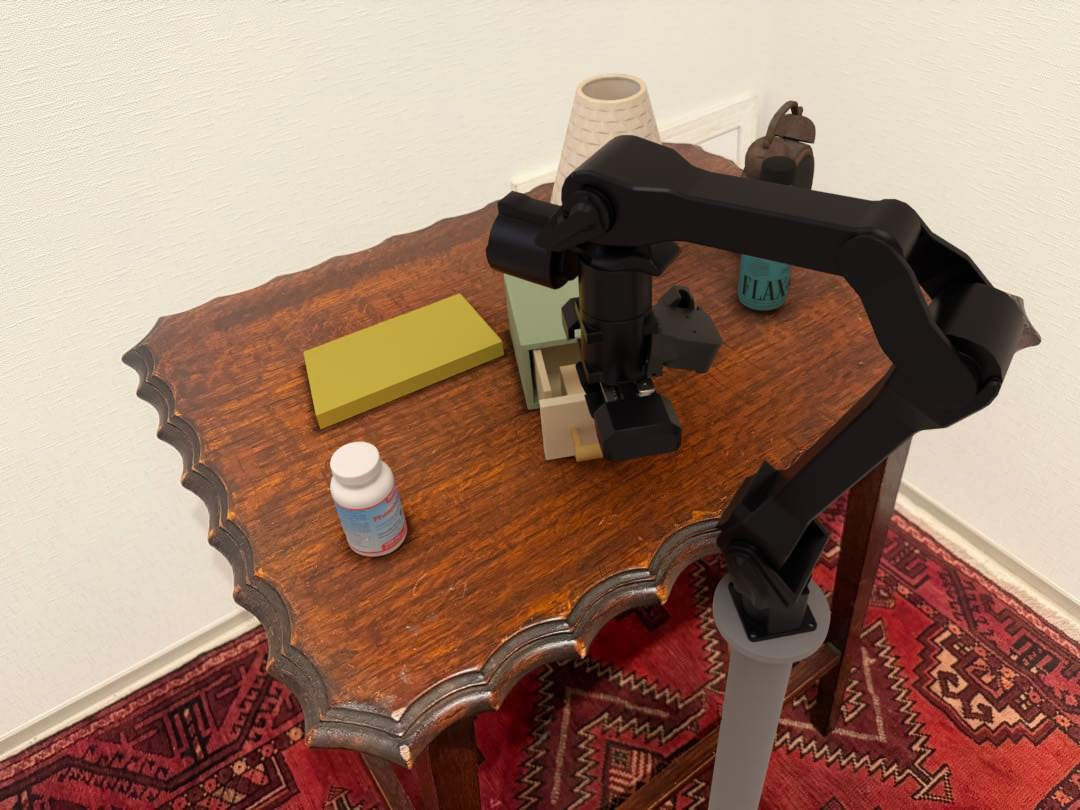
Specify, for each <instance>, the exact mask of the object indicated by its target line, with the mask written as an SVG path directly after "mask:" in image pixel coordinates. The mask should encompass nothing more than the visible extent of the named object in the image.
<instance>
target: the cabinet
mask: <svg viewBox="0 0 1080 810" xmlns="http://www.w3.org/2000/svg"><path fill="white" fill-rule="evenodd" d="M502 274H503V282H504V283H503V284H504V291H505V301H506V309H507V315H508V316H507V317H508V326H509V334H510V338H511V343H512V346H513V351H514V355H515V360H516V365H517V368H518V373H519V377H520V382H521V386H522V390H523V395H524V399H525V403H526V407H527V410H528V411H531V410H537V409H540V405H539V401H538V397H537V393H536V389H535V385H534V381H533V377H532V367H531V357H530V350H532V349H538V348H545V347H551V346H557V345H563V344H570V343H576V342H577V339H578V338H581V329H577V330H575V339H574V340H569V341H567V338H566V335H565V331H564V328H563V325H562V313H561V308H562V307H563V305H564V304H565V303H566V302H567V301H568V300H569V299H570V298H575V297H579V285H578V276H577V278H575V279H574V280H572V281H568V282H567V283H566V284H565V285H564V286H563V287H561V288H559V289H555V290H554V289H551V288H548V287H545V286H541V285H538V284H535V283H532V282H529V281H526V280H523V279H519V278H516V277H513V276H510V275H507V274H504V273H502Z"/></svg>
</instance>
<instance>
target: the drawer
mask: <svg viewBox="0 0 1080 810" xmlns="http://www.w3.org/2000/svg"><path fill="white" fill-rule="evenodd" d="M530 357H531V367H532V377H533V381H534V385H535V389H536V393H537V397H538V401H539V405H540V408H539V413H540V422H541V430H542V431H541V433H542V443H543V444H542V445H543V454H544V457H545V460H546V461H551V460H556V459H563V458H567V457H568V458H569V457H575V461H576V463H580V462H586V461H591V460H597V459H602V458H603V454H602V451H601V448H600V445H599V442H598V438H597V434H596V429H595V423H594V419H593V418H592V417H591V415H590V413H589V410H588V406H587V403H586V400H585V397H584V395H585V394H586V393H579V394H573V395H567V396H562V394H561V380H560V367H562V366H568V365H574V364H576V363H577V362H579V361H581V358H580V355H579V352H578V349H577V342H576V343H570V344H563V345H557V346H551V347H545V348H538V349H532V350H530ZM603 459H604V458H603Z"/></svg>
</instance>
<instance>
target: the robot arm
mask: <svg viewBox="0 0 1080 810" xmlns="http://www.w3.org/2000/svg"><path fill="white" fill-rule="evenodd" d="M561 201H562V205H561V206H560V205H556V204H552V203H550V202H549V201H545V200H541V199H537V198H534V197H531V196H530V195H527V194H525V193H523V192H519V191H515V190H511V191H510V192H508V193H507V194H506V195H505V196H503V197H502V198H501V199H500V200H498V201H497V203H496V206H497V213H498V214H497V215H496V217H495V219H494V220H493V223H492V225H491V227H490V231H489V236H488V241H487V245H486V246H485V257H486V261H487V263H488V265H489V267H490V269H492V270H493V271H494V272H497V273H501V274H503V273H504V274H507V275H510V276H513V277H516V278H519V279H523V280H526V281H529V282H532V283H535V284H538V285H541V286H545V287H548V288H551V289H554V290H555V289H559V288H561V287H563V286H564V285H565V284H566V283H567V282H568V281H572V280H574V279H575V278H577V276H578V285H579V297H575V298H570V299H569V300H568V301H567V302H566V303H565V304H564V305H563V307H562V308H561V313H562V325H563V328H564V331H565V335H566V338H567V341H569V340H574V339H575V330H577V329H581V338H578V339H577V349H578V352H579V355H580V358H581V361H579V362H577V363H576V365H575V367H576V371H577V374H578V377H579V380H580V384H581V386H582V388H583V390H584V391H585V393H586V394H585V395H584V397H585V400H586V403H587V406H588V410H589V413H590V415H591V417H592V418H593V419H594V423H595V429H596V434H597V438H598V442H599V445H600V448H601V451H602V454H603V459H604V460H606V461H608V462H611V463H617V462H622V461H628V460H635V459H639V458H646V457H652V456H658V455H664V454H669V453H676V452H677V451H678V450H679V449H680V447H681V446H682V436H683V434H682V433H683V428H682V425H681V422H680V420H679V418H678V415H677V413H676V411H675V407H674V405H673V403H672V401H671V399H670V398H667V397H666V396H665V395H662V393H658V392H657V389H656V386H655V384H654V382H653V381H654V380H653V378H658V377H659V378H660V377H663V370H664V368H663V367H666V368H669V369H675V370H684V371H692V372H695V374H703V375H704V374H707V373H708V372H709V370H710V369H711V366H712V364H713V362H714V361H715V358H716V356H717V354H718V353H719V350H720V349H721V346H722V345H723V343H724V342H723V341H724V340H723V337H722V335H721V333H720V332H719V330H718V328H717V326H716V324H715V322H714V320H713V318H712V317H711V315H710V314H708V313H707V312H705V311H704V308H703V307H702V305H696V304H695V299H694V296H693V295H692V293H691V291H690V288H689V287H688V286H684V285H677V284H674V285H672V286H671V287H670V288H669V289H668V290H667V291H666V292H664V294H662V295H661V296H660V297H659V299H658V301H657V303H656V304H654V305H653V277H658V278H659V277H660V276H661V275H663V273H664V272H665V271H666V270H667V269H668V268H669V266H671V265H672V264H673V262H674V261H675V260H676V259H677V258H678V257H679V256H680V255H681V253H682V249H681V247H680V246H679V245H678V244H677V243H676V242H683V243H690V244H695V245H699V246H703V247H708V248H712V249H718V250H722V251H726V252H730V253H735V254H739V255H742V254H743V255H748V256H752V257H757V258H761V259H766V260H770V261H775V262H779V263H784V264H788V265H792V266H793V267H797V268H802V269H806V270H811V271H815V272H820V273H824V274H829V275H833V276H837V277H841V278H843V279H844V280H845V282H847V284H848V285H849V286H850V287H851V288H852V290H853V291H854V292H855V293H856V294H857V296H858V297H859V298H860V301H861V304H862V306H863V308H864V310H865V313H866V316H867V318H868V320H869V321H868V322H869V323H870V325H871V328H872V330H873V333H874V335H875V338H876V340H877V342H878V343H877V344H878V345H879V347H880V349H881V351H882V352H883V353H884V355H885V356H886V357H887V358H888V360H890V362H891V363H892V364H891V366H890V367H889V368H888V370H887V371H886V373H885V374H884V375H883V376H882V377H881V378H880V379H879V380H878V381H877V382H875V384H874V385H873V386H872V387H871V388H870V389H868V391H867V392H865V393H864V395H863V396H862V397H860V398H859V399H858V400H857V402H855V403H854V404H853V405H852V406H851V407H850V408H849V409H848V410H847V411H846V412H845V413H844V414H843V415H842V416H841V417H840V418H839V419H837V421H836V422H835V423H834V424H833V425H832V426H831V427H830V428H829V429H828V430H826V431H825V433H824V434H823V435H822V436H820V437H819V439H818V440H816V441H815V442H814V443H813V444H812V446H810V447H809V448H808V449H807V450H806V451H805V452H804V453H803V454H801V456H800V457H798V459H797V460H796V461H794V463H793V464H792V465H791V466H789V467H788V468H786V469H776V468H775V467H774V466H773V465H772V464H771V463H770V462H768V460H766V459H764V460H763V462H762V463H761V465H760V466H759V468H758V469H757V471H756V472H755V473H753V474H752V475H749V476H746V477H745V478H744V479H743V481H742V483H741V484H740V486H739V488H738V490H737V491H736V493H735V494H734V496H733V497H732V499H731V500H730V502H729V504H728V505H727V506H726V509H725V510H724V512H723V513H722V515H721V517H720V518H719V519H718V521H717V523H716V524H715V526H714V528H715V530H718V531H720V532H719V534H718V535H717V537H716V539H715V545H716V547H717V548H719V550H720V552H721V554H722V555H723V559H724V562H725V564H726V567H727V571H728V572H729V573H730V576H731V579H732V582H730V583H729V584H728V590H729V592H730V595H731V598H732V600H733V603H734V605H735V608H736V610H737V613H738V615H739V618H740V620H741V623H742V625H743V628H744V630H745V633H746V636H747V638H748V640H749V641H750V642H759V641H764V640H769V639H775V638H780V637H785V636H791V635H796V634H801V633H807V632H812V631H815V630H816V628H817V622H816V620H815V618H814V616H813V614H812V612H811V609H810V607H809V605H808V603H807V602H808V598H809V593H810V590H809V586H810V581H811V579H812V578H813V571H814V569H815V567H816V565H817V563H818V561H819V559H820V557H821V555H822V554H823V551H824V549H825V547H826V545H827V543H828V541H829V540H830V537H831V534H830V532H829V531H828V529H826V528H825V526H824V525H823V524H822V522H821V521H820V520H819V519H818V518H817V517H818V516H820V515H821V514H822V513H823V512H825V510H826V509H828V508H830V507H831V505H833V504H834V503H835V502H836V501H837V500H838V499H841V497H843V495H844V494H846V493H847V492H848V491H849V490H850V489H851V488H853V487H854V486H856V484H857V483H859V482H860V481H861V480H862V479H863V478H865V477H866V476H867V475H868V474H870V473H871V472H872V471H873V470H874V469H875V468H876V467H878V466H879V465H880V464H881V463H883V462H884V461H885V460H887V459H888V458H889V456H891V455H892V454H894V452H896V451H897V450H898V449H899V448H900V447H902V446H903V445H904V444H905V443H906V442H908V441H909V440H910V439H911V438H912V437H913V436H914V435H916V434H918V433H920V432H922V431H931V430H942V429H948V428H950V427H952V426H953V425H955V424H957V423H959V422H962V421H963V420H965V419H967V418H969V417H971V416H973V415H974V414H977V413H978V412H980V411H983V410H984V409H985V408H987V407H989V406H990V405H991V404H992V403H993V402H994V401H995V399H996V398H997V397H998V396H999V393H1000V391H1001V389H1002V386H1003V384H1004V381H1005V379H1006V376H1007V373H1008V372H1009V368H1010V366H1011V364H1012V360H1013V358H1014V355H1015V353H1016V351H1017V348H1018V345H1019V343H1020V340H1021V338H1022V335H1023V332H1024V330H1025V327H1026V326H1025V323H1024V315H1023V314H1024V313H1023V312H1022V310H1021V308H1020V306H1019V305H1018V303H1017V301H1015V300H1014V299H1013V298H1012V297H1011V296H1010V295H1008V294H1007V292H1005V291H1003V290H1001V289H999V288H997V287H995V286H994V285H993V284H992V282H991V281H990V280H989V279H988V278H987V276H986V275H985V274H984V272H983V271H982V270H981V269H980V268H979V266H978V264H976V263H975V261H974V260H973V258H971V256H970V255H969V254H968V253H966V252H965V251H963V250H962V249H960V248H959V247H957V246H955V245H954V244H952V243H951V242H949V241H947V240H946V239H944V238H943V237H942V236H940V235H938V234H936V233H935V232H933V231H932V229H930V227H929V226H928V225H927V224H926V222H925V221H924V220H923V218H922V217H921V216H920V214H918V212H917V211H916V210H915V209H914V208H913V207H912V206H911V205H910V204H908V203H907V202H905V201H903V200H900V199H898V198H897V199H896V198H883V199H880V200H870V199H865V198H860V197H853V196H848V195H844V194H838V193H831V192H827V191H826V192H825V191H821V190H815V189H811V190H810V189H804V188H799V187H793V186H787V185H782V184H776V183H771V182H765V181H760V180H754V179H748V178H743V177H741V176H738V175H737V176H736V175H731V174H726V173H720V172H719V173H718V172H714V171H709V170H707V169H703V168H701V167H698V166H695V165H693V164H691V163H690V161H688V160H687V158H685V157H684V156H682V155H681V154H680V153H679V152H678V151H677V150H675V149H674V148H671V147H668V146H666V145H663V144H662V145H661V144H658V143H655V142H652V141H649V140H646V139H644V138H641V137H638V136H634V135H620V136H617V137H614V138H613V139H612V140H610V141H609V142H607V143H606V144H605V145H604V146H603V147H601V148H600V149H599V150H598V151H597V152H595V153H594V154H593V155H592V156H591V157H590V158H588V159H587V160H586V161H585V162H584V163H582V164H581V165H580V166H579V167H578V168H576V169H575V170H574V171H573V172H572V173H571V174H570V175H569V176H568V177H567V178H566V179H565V181H564V183H563V186H562V190H561ZM922 290H923V291H924V292H925V293H926V295H927V296H928V297H929V298H930V299H931V302H930V303H929V304H928V302H927V300H926V298H925V295H924V293H923V291H922ZM695 305H696V306H695ZM731 586H734V587H735V588H732V587H731ZM809 624H812V625H813V627H812V626H810V625H809ZM751 635H754V636H755V638H753V637H751Z"/></svg>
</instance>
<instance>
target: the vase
mask: <svg viewBox="0 0 1080 810" xmlns="http://www.w3.org/2000/svg"><path fill="white" fill-rule="evenodd" d="M654 113H655V112H654V110H653V105H652V101H651V98H650V94H649V90H648V86H647V84H646V82H645V81H644V80H642V79H641V78H640V77H637V76H635V75H632V74H626V73H604V74H598V75H593V76H590V77H587V78H586V79H584V80H582V81H580V82H579V83H578V85H577V86H576V90H575V93H574V97H573V102H572V106H571V110H570V114H569V118H568V123H567V128H566V132H565V136H564V140H563V145H562V149H561V152H560V153H561V154H560V159H559V161H558V162H559V163H558V166H557V169H556V170H557V171H556V174H555V179H554V184H553V187H552V192H551V196H550V200H549V203H552V204H556V205H560V206H561V205H562V201H561V190H562V186H563V183H564V181H565V179H566V178H567V177H568V176H569V175H570V174H571V173H572V172H573V171H574V170H575V169H576V168H578V167H579V166H580V165H581V164H582V163H584V162H585V161H586V160H587V159H588V158H590V157H591V156H592V155H593V154H594V153H595V152H597V151H598V150H599V149H600V148H601V147H603V146H604V145H605V144H606V143H607V142H609V141H610V140H612V139H613V138H614V137H617V136H620V135H634V136H638V137H641V138H644V139H646V140H649V141H652V142H655V143H658V144H661V145H663V143H662V138H661V134H660V131H659V127H658V124H657V120H656V116H655V114H654Z"/></svg>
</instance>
